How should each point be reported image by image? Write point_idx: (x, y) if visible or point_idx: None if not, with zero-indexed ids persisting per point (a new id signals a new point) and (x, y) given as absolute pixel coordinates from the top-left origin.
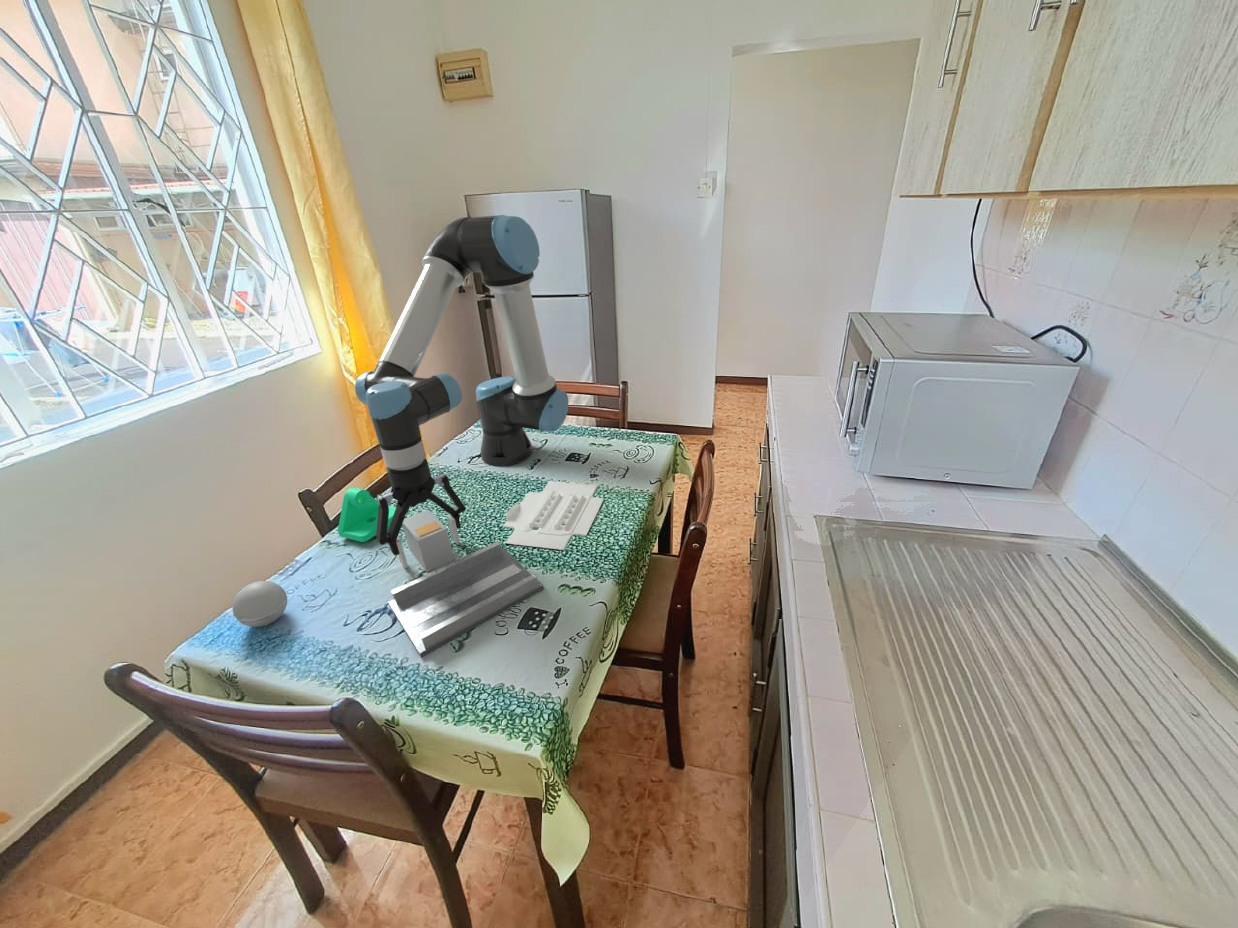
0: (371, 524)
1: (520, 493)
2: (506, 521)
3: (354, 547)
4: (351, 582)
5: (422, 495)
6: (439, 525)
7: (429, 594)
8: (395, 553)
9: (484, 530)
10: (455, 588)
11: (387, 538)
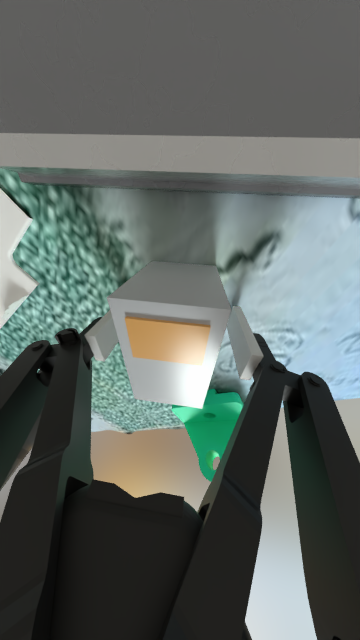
0: (215, 410)
1: (12, 340)
2: (30, 292)
3: (247, 391)
4: (313, 340)
5: (66, 594)
6: (127, 333)
7: (296, 107)
8: (258, 337)
9: (76, 300)
10: (216, 39)
11: (291, 384)
